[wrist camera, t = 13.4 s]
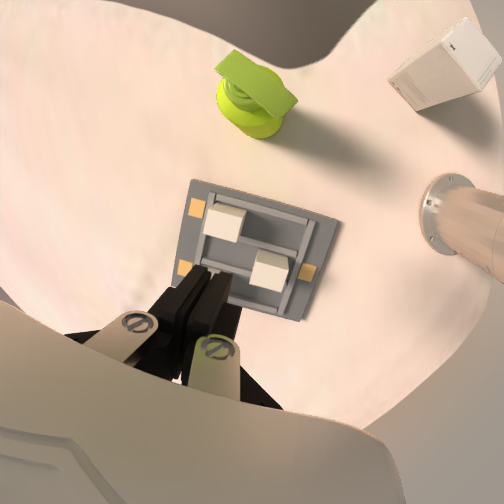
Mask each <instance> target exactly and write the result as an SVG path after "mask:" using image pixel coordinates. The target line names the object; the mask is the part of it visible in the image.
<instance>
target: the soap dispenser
mask: <svg viewBox="0 0 504 504" xmlns="http://www.w3.org/2000/svg"><path fill="white" fill-rule="evenodd" d="M214 69H215V71H216V72H217V73H219V74H220V75H222V76H223V78H222V80H221V81H220V83H219V85H218V88H217V93H216V99H217V104H218V107H219V109H220V111H221V113H222V114H223V115H224V116H225V117H226V118H227V119H228V120H229V121H231V122H232V123H233V124H234V125H235V126H237V127H238V128H239V129H240V130H241V131H243V132H244V133H245V134H246V135H248V136H250V137H252V138H257V139H263V138H267V137H270V136H272V135H274V134H275V133H276V132H277V131H278V130H279V128H280V127H281V124H282V120H283V116H284V115H285V114H286V113H287V112H288V111H289V110H290V109H291V108H292V107H293V106H294V105H295V104H296V103H297V102H298V99H297V98H296V97H295V96H294V95H293V94H292V93H290V92H289V91H288V90H287V89H286V88H285V87H284V85H283V82H282V81H281V79H280V78H279V76H278V75H277V74H276V73H275V72H273V71H272V70H270V69H269V68H266V67H264V66H260V65H257V64H255V63H254V62H253V61H251V60H250V59H248V58H247V57H245V56H244V55H242V54H241V53H239V52H238V51H236V50H235V49H234V50H233V51H232V52H231V53H230V54H229V55H228V56H227V57H226V58H225V59H224V60H223V61H221V62H220V63H219V64H218V65H217V66H216V67H215V68H214Z"/></svg>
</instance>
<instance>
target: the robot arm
mask: <svg viewBox="0 0 504 504" xmlns="http://www.w3.org/2000/svg"><path fill="white" fill-rule="evenodd" d="M420 226H421V230H422V234H423V236H424V238H425V240H426V242H427V243H428V244H429V245H430V246H431V247H432V248H433V249H434V250H436V251H437V252H439V253H442V254H446V255H451V254H456V253H459V254H461V255H462V256H464V257H465V258H467V259H469V260H470V261H472V262H473V263H475V264H476V265H478V266H479V267H480V268H482V269H483V270H485V271H486V272H488V273H489V274H490V275H492V276H493V277H495V278H496V279H497V280H499V281H500V282H502V283H503V284H504V196H503V195H499V194H496V193H492V192H488V191H484V190H480V189H476V188H475V186H474V185H473V184H472V182H471V181H470V180H469V179H467V178H466V177H464V176H462V175H460V174H455V173H447V174H443V175H441V176H439V177H437V178H436V179H435V180H434V181H433V182H432V183H431V184H430V185H429V187H428V188H427V190H426V192H425V194H424V196H423V199H422V202H421V207H420ZM211 274H212V272H210V271H208V267H204V266H201V265H197V264H195V265H194V266H193V268H192V269H191V270H190V271H189V272H188V274H187V275H186V276H185V277H184V279H183V280H182V281H181V282H180V284H179V285H178V286H177V287H176V288H173V287H168V288H167V289H166V291H165V292H164V293H163V294H162V295H161V296H160V298H159V299H158V300H157V301H156V302H155V303H154V305H153V306H152V307H151V308H150V309H149V311H148V312H144V311H129V312H126V313H124V314H122V315H120V316H119V317H118V318H116V319H115V320H114V321H112V322H111V323H110V324H108V325H107V326H106V327H105V328H103V329H102V330H95V331H88V332H80V333H72V334H65V335H62V334H60V333H59V332H57V331H55V330H53V329H51V328H49V327H48V326H46V325H44V324H42V323H41V322H39V321H37V320H36V319H34V318H32V317H31V316H29V315H27V314H25V313H24V312H22V311H20V310H19V309H17V308H15V307H13V306H11V305H9V304H7V303H5V302H3V301H1V300H0V504H406V501H405V497H404V492H403V487H402V483H401V479H400V476H399V472H398V470H397V467H396V464H395V462H394V459H393V457H392V455H391V453H390V451H389V450H388V448H387V447H386V446H385V444H384V443H383V442H382V441H380V440H379V439H378V438H377V437H375V436H373V435H372V434H370V433H368V432H366V431H364V430H361V429H359V428H356V427H354V426H351V425H349V424H345V423H341V422H338V421H335V420H331V419H326V418H321V417H317V416H311V415H305V414H300V413H294V412H289V411H284V410H283V409H282V407H281V406H280V405H279V404H278V403H277V402H276V401H275V400H274V399H273V398H272V397H271V396H270V395H269V394H268V393H267V392H266V391H265V390H264V389H263V388H262V387H261V386H260V385H259V384H258V383H257V382H256V381H255V380H254V379H253V378H252V377H251V376H250V375H249V374H248V373H247V372H246V371H245V370H244V369H243V368H242V367H241V366H240V350H239V347H238V345H237V344H236V343H235V342H234V338H235V335H236V331H237V327H238V323H239V319H240V315H241V311H242V306H238V305H234V304H230V303H227V301H228V296H229V292H230V287H231V282H232V278H233V274H231V273H227V272H223V271H220V273H219V274H218V273H214V275H213V277H212V279H211ZM181 371H182V373H181ZM180 373H181V381H182V385H180V384H177V383H174V382H172V379H173V378H174V379H178V378H179V375H180Z"/></svg>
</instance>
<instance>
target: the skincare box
mask: <svg viewBox="0 0 504 504" xmlns="http://www.w3.org/2000/svg"><path fill="white" fill-rule="evenodd" d="M501 62H502V58H501V57H500V55H499V54H498V53H497V51H496V50H495V49H494V47H493V46H492V45H491V43H490V42H489V41H488V40H487V39H486V37H485V36H484V35H483V34H482V33H481V31H480V30H479V29H478V28H477V27H476V25H475V24H474V23H473V22H472V21H471V20H470V18H469V17H468V16H466V17H464V18H462V19H461V20H459V21H458V22H456V23H455V24H453V25H452V26H450V27H449V28H448V29H446V30H445V31H444V32H442V33H441V34H439V35H438V36H437V37H435V38H434V39H432V40H431V41H430V42H428V43H427V44H426V45H424V46H423V47H422V48H421V49H419V50H418V51H417V52H415V53H414V54H413V55H412V56H411V57H409V58H408V59H407V60H406V61H405V62H404V63H403V64H402V65H401V66H400V67H399V68H398V69H397V70H396V71H395V72H394V73H393V74H392V75H391V76H390V77H389V78H388V79H387V80H388V81H389V82H390V84H391V85H392V86H393V87H394V88H395V89H396V90H397V91H398V92H399V93H400V94H401V95H402V96H403V97H404V99H405V100H406V101H407V102H408V103H409V104H410V105H411V107H412V108H413V109H414V110H415V111H416V112H417V111H420V110H423V109H425V108H428V107H431V106H434V105H437V104H440V103H443V102H447V101H450V100H453V99H456V98H460V97H463V96H466V95H469V94H473V93H477V92H481V91H482V89H483V88H484V87H485V85H486V84H487V83H488V81H489V80H490V78H491V77H492V76H493V74H494V73H495V71H496V70H497V68H498V67H499V65H500V64H501Z"/></svg>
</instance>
